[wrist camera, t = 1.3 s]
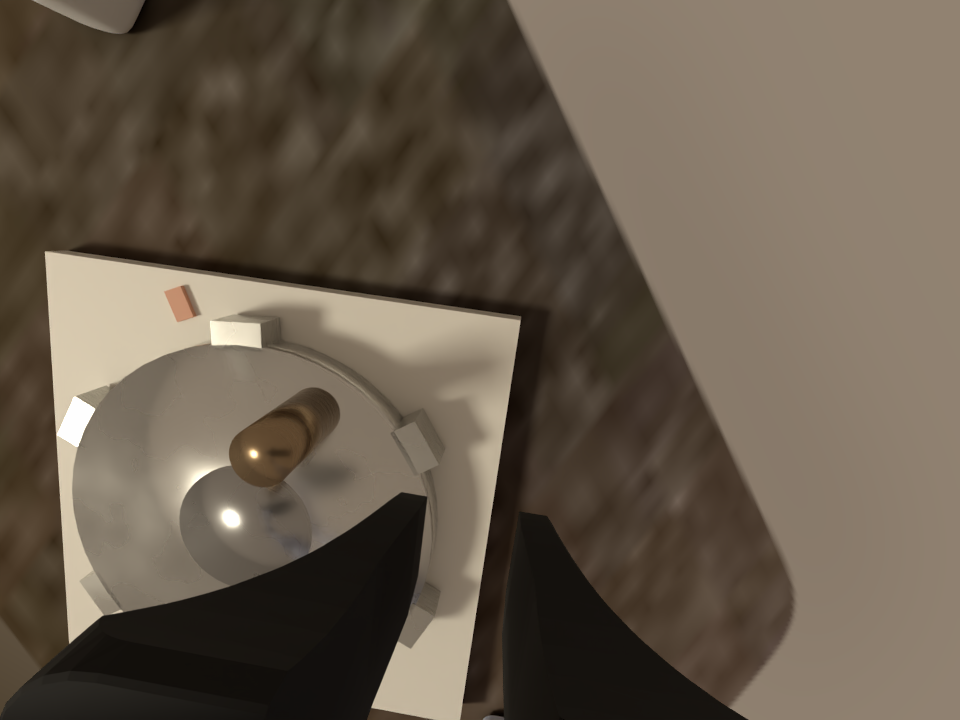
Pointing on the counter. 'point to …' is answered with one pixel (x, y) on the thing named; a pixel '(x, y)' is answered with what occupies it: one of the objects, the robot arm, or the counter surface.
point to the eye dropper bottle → (99, 12)
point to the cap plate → (348, 339)
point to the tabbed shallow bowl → (238, 467)
